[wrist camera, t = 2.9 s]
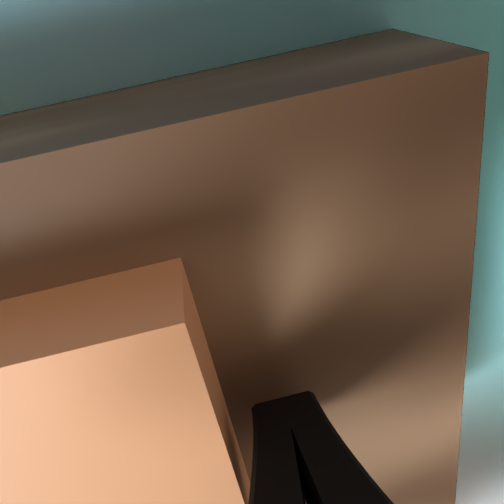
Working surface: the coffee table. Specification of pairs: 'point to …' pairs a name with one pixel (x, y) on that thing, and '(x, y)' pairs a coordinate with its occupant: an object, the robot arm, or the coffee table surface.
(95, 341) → the tan rectangular block
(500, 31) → the coffee table surface
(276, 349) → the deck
